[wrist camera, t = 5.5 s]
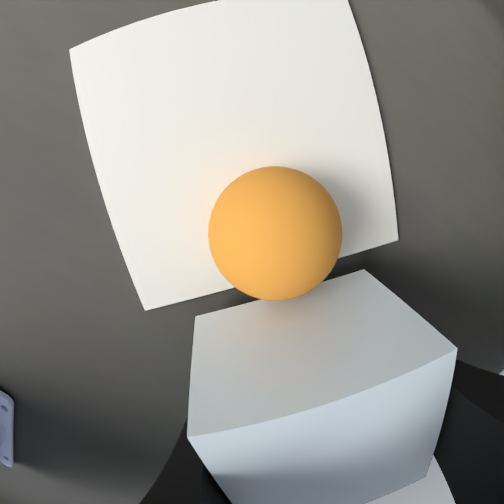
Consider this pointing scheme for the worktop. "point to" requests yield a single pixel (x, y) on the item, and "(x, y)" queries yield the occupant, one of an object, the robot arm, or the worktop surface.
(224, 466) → the white box
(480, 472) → the robot arm
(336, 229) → the ball
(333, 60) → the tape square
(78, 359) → the worktop surface
